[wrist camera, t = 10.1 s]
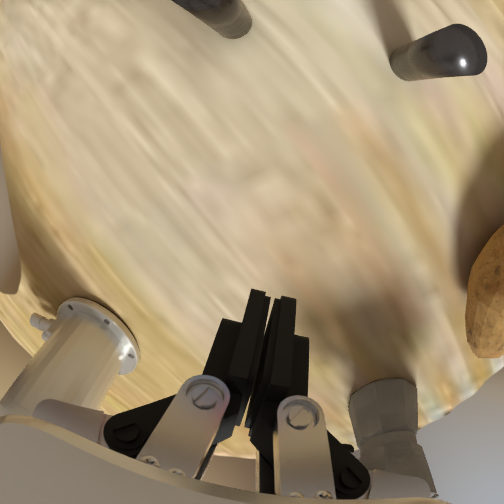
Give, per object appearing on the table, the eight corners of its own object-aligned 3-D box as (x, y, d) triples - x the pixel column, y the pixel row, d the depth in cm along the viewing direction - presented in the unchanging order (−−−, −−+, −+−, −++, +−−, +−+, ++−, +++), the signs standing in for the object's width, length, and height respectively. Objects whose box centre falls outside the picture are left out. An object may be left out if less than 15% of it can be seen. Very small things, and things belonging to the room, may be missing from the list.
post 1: (213, 37, 18) (160, 5, 10) (219, 7, 16) (172, -38, 8) (248, 40, 17) (214, 4, 10) (254, 10, 16) (225, -40, 8)
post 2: (387, 73, 17) (439, 60, 9) (392, 42, 16) (445, 14, 8) (419, 86, 17) (483, 84, 9) (425, 56, 16) (489, 39, 8)
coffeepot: (441, 382, 30) (469, 507, 14) (401, 420, 35) (412, 531, 19) (337, 363, 30) (338, 525, 15) (305, 407, 35) (293, 537, 19)
